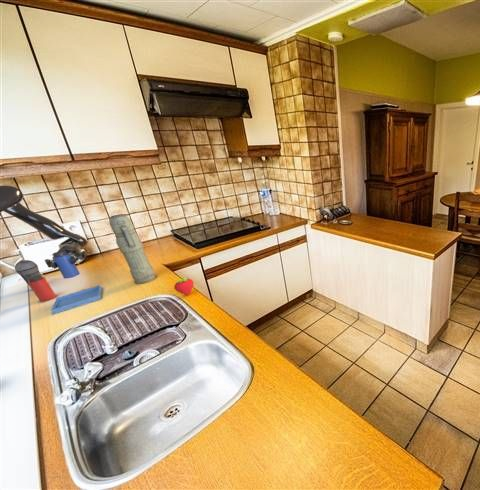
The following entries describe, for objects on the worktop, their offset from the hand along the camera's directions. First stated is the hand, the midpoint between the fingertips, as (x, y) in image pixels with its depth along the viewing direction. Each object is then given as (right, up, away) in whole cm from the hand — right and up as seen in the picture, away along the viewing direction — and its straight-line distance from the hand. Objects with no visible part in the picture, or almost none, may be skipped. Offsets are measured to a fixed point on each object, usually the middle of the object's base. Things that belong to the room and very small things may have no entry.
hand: (63, 264), depth 119 cm
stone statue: (+20, -10, +20) cm, 30 cm away
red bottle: (-16, -17, +8) cm, 25 cm away
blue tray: (+2, -17, +5) cm, 18 cm away
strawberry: (+53, -15, +4) cm, 55 cm away
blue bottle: (-1, -6, +5) cm, 7 cm away
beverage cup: (-34, -14, +18) cm, 41 cm away
